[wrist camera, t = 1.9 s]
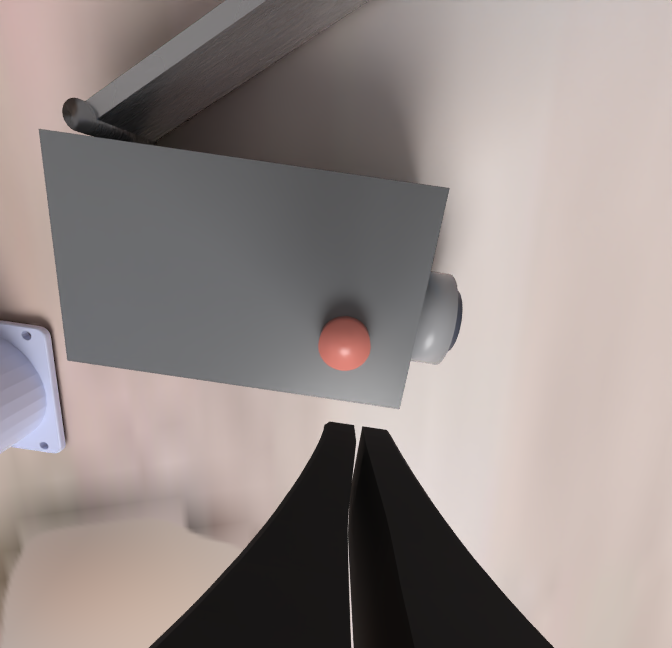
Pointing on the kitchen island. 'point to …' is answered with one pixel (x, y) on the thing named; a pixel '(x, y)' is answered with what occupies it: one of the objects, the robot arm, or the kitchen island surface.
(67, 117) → the side door
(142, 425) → the kitchen island surface
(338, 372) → the camera body
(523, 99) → the kitchen island surface
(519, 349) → the kitchen island surface
